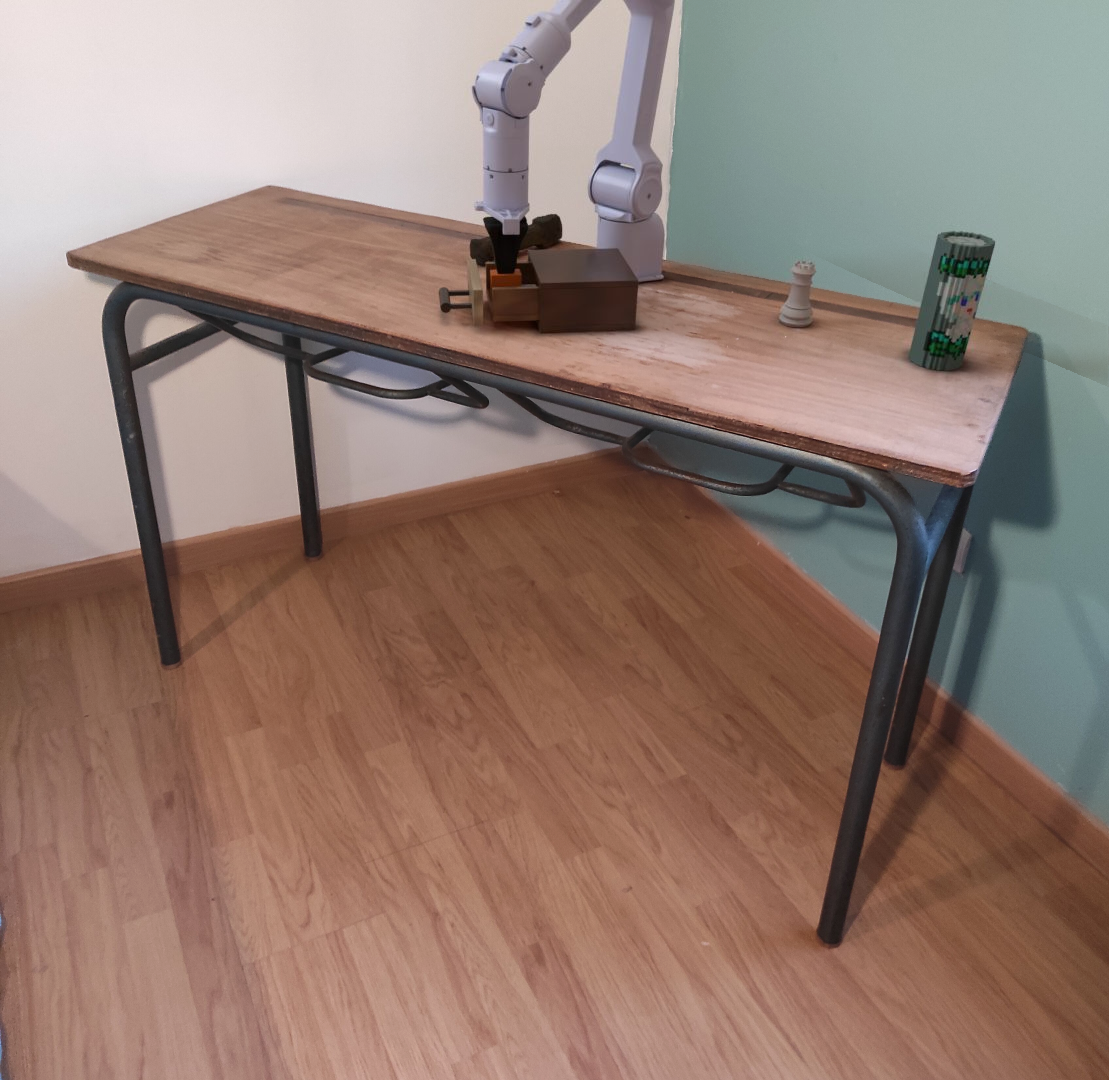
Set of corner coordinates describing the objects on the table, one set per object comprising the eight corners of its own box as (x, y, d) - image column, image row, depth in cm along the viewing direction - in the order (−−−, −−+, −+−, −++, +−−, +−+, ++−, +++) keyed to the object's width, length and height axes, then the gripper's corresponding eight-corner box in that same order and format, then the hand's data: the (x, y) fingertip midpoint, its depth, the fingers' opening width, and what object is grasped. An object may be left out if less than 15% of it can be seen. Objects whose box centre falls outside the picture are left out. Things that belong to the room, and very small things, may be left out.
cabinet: (539, 332, 124) (540, 282, 120) (527, 296, 135) (527, 249, 132) (635, 329, 126) (638, 280, 122) (615, 294, 137) (617, 247, 133)
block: (491, 298, 128) (491, 275, 127) (490, 292, 130) (490, 269, 129) (537, 297, 129) (538, 274, 127) (535, 291, 131) (535, 268, 129)
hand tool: (485, 268, 145) (485, 237, 143) (468, 261, 147) (467, 231, 145) (573, 244, 156) (574, 215, 154) (556, 238, 159) (557, 210, 156)
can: (932, 373, 116) (964, 249, 108) (899, 354, 121) (927, 234, 112) (971, 365, 118) (1005, 243, 110) (936, 347, 123) (967, 229, 114)
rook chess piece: (792, 330, 127) (802, 270, 122) (771, 318, 130) (780, 260, 126) (818, 325, 128) (829, 265, 124) (797, 314, 132) (807, 256, 127)
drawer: (441, 327, 122) (440, 290, 120) (438, 294, 133) (436, 259, 130) (562, 323, 124) (563, 287, 122) (549, 291, 135) (550, 257, 132)
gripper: (470, 154, 126) (471, 257, 133) (478, 181, 114) (479, 292, 121) (523, 155, 127) (522, 257, 134) (537, 181, 115) (534, 292, 122)
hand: (505, 274), depth 128 cm, fingers closed, pressing on block
